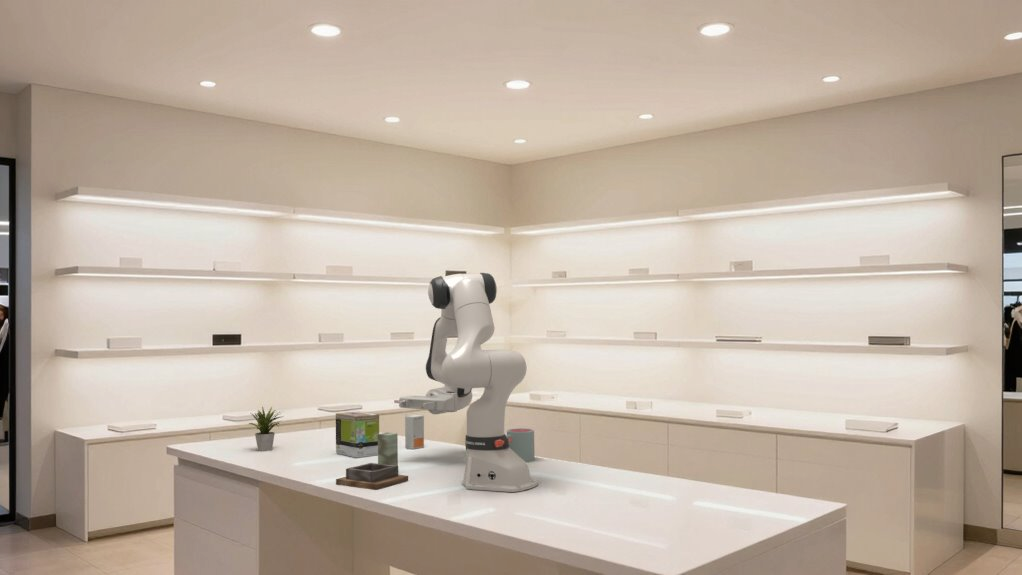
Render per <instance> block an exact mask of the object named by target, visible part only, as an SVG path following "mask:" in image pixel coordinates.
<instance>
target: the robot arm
mask: <svg viewBox="0 0 1022 575" xmlns="http://www.w3.org/2000/svg"><path fill="white" fill-rule="evenodd" d="M427 289H428V290H427V294H428V299H429V302H431V305H432V307H434V308H435V309H438V310H439V309H440V310H441V311H440V312H441V315H440V317H438V318H437V319H436V320H435V322H434V324H433V328H432V333H431V340H430V346H429V354H428V358H427V360H426V363H425V372H426V376H427V377H428V379H430V380H433V381H435V382H439V383H440V384H443V385H444V386H443V387H442V386H441V387H435V388H430V389H429V390H428V391H427V392H426V394H425V395H407V396H401V397H399V399H398V407H399V408H401V409H416V410H426V411H428V412H429V413H431V414H432V415H441V414H446V413H455V412H456V413H457V412H458V411H460V410H463V409H465V408H467V410H466V434H465V447H464V448H465V452H466V455H465V456H466V457H465V458H466V459H465V468H464V473H463V479H462V481H461V484H462V485H463V486H465V489H466V490H476V491H491V492H492V491H493V492H508V493H515V492H522V491H527V490H529V489H532V488H534V487H537V486H538V485H539V482H538V479H533V478H531V472H530V468H529V464H528V462H525V461H524V460H523V459H522V458H521V457H519V456H518V455H517V454H516V453H515V452H514V451H513V450H512V449H511V448H510V445H509V442H512V441H510V440H511V439H512V438H509V439H508V438H507V437H506V435H507V434H505V417H506V413H505V412H506V407H507V403H508V400H509V399H510V396H511V394H512V393H513V391H514V390H515V388H516V387H517V386H518V385H519V384H521V383H522V382H523V380H524V379H525V377H526V374H527V362H526V359H525V357H524V356H523V355H522V353H520V352H519V351H515V350H511V349H487V350H486V349H482V347H481V345H483V344H484V343H485V344H486V342H488V341H489V340H490V339H491V338H492V337H493V336H494V333H495V322H494V319H493V315H492V309H491V305H490V304H493V303H494V301H495V300H496V299H497V291H498V288H497V282H496V281H495V278H494V276H493V275H492V274H490V273H488V272H486V273H485V272H480V273H455V274H450V275H446V276H445V275H444V276H442V275H440V276H436V277H434V278H432V279H431V280H430V282H429V286H428V288H427ZM449 337H450V338H455V337H456V338H457V340H456V344H455V347H454V348H453V350H452V351H451V352H450V353H447V351H446V348H447V342H448V338H449ZM483 388H484V390H483V393H482V395H480V396H481V397H480V398H478V399H476V400H474V401H473V402H472V399H473V391H472V389H483Z"/></svg>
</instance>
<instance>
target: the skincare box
mask: <svg viewBox="0 0 1022 575" xmlns="http://www.w3.org/2000/svg"><path fill="white" fill-rule="evenodd" d="M404 417H405V418H404V419H405V420H404V421H405V423H404V424H405V425H404V427H405V428H404V429H405V431H404V435H405V438H404V440H405V442H404V443H405V444H404V445H405V449H408V450H416V449H421V448H424V447H425V421H424V420H425V415H421V414H413V415H407V416H404Z"/></svg>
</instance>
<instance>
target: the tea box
mask: <svg viewBox="0 0 1022 575" xmlns="http://www.w3.org/2000/svg"><path fill="white" fill-rule="evenodd" d="M378 434H380V414H379V413H373V412H366V411H365V412H364V411H345V412H339V413H335V453H336V454H339V455H344V456H348V457H353V458H355V459H357V458H365V457H367V458H368V457H373V456H378Z"/></svg>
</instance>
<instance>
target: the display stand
mask: <svg viewBox="0 0 1022 575" xmlns="http://www.w3.org/2000/svg"><path fill="white" fill-rule="evenodd" d="M408 481H409V475H404V474H399V465H398V466H395V465H386V464H378V462H377V463H375V462H369V463H365V464H360V465H356V466H352V467H348V468H345V476H344V477H339V478H336V479H335V485H340V486H346V487H347V486H348V487H353V488H355V487H356V488H362V489H369V490H375V491H376V490H380V489H381V490H382V489H383V488H387V487H392V486H395V485H399V484H401V483H405V482H408Z"/></svg>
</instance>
